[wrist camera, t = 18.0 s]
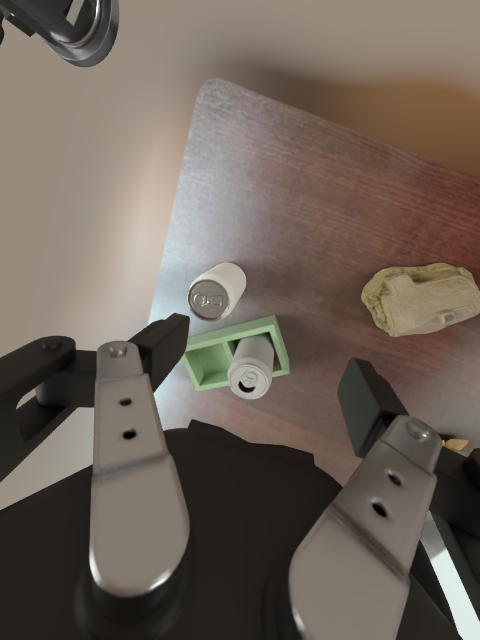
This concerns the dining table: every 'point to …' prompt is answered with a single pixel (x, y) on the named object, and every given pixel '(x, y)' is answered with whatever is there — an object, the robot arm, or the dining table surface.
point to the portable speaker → (430, 581)
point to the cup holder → (229, 352)
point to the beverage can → (252, 366)
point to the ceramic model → (421, 298)
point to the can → (216, 292)
